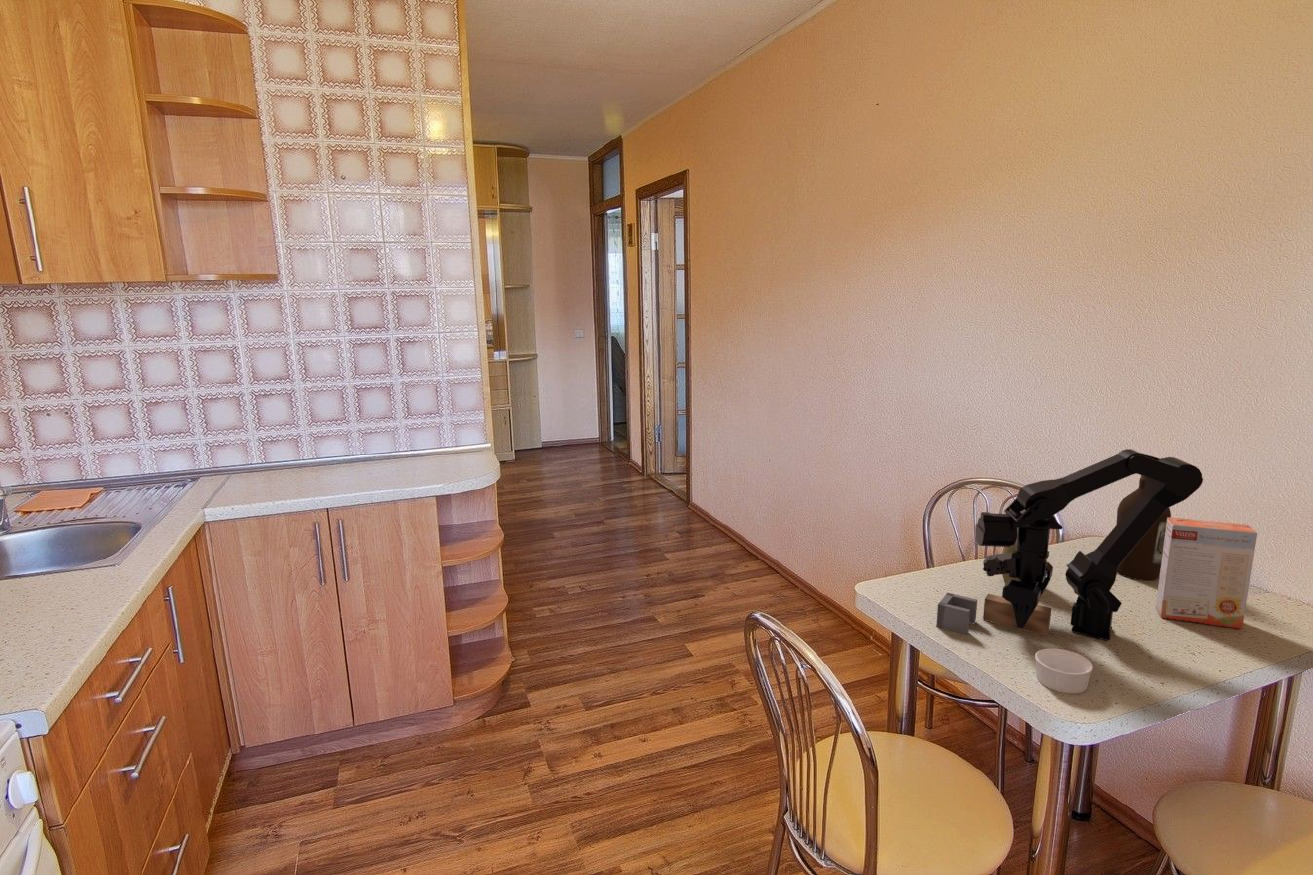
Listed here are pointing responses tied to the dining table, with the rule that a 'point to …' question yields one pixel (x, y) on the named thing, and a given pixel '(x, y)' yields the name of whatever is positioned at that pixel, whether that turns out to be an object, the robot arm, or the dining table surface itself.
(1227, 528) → the cracker box
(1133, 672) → the dining table surface
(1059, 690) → the ramekin
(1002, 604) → the slat
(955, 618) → the end cap
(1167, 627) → the dining table surface
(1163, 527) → the olive oil
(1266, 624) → the dining table surface
